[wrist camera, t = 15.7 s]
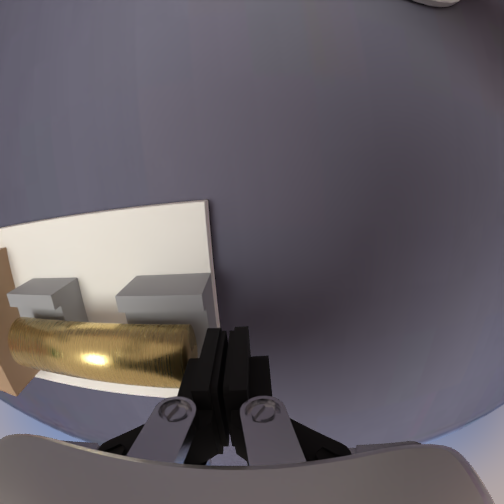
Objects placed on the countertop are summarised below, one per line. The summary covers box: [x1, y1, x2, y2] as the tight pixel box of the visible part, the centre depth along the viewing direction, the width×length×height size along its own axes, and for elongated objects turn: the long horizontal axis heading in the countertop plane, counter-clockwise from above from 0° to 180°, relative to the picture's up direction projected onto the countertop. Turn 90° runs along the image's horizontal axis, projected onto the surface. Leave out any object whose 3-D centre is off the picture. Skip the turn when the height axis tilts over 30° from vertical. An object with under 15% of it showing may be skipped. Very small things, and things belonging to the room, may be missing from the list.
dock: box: [0, 200, 220, 398], centre depth 14 cm, size 26×12×5 cm, turn 93°
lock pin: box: [8, 317, 198, 389], centre depth 11 cm, size 10×3×3 cm, turn 93°
